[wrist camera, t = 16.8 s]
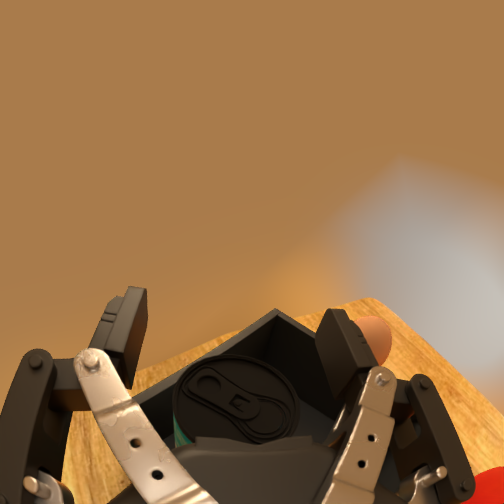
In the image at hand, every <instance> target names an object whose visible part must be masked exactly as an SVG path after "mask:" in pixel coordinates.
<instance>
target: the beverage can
mask: <svg viewBox="0 0 504 504" xmlns="http://www.w3.org/2000/svg"><path fill="white" fill-rule="evenodd" d="M172 406H173V420H174V436H175V447H179V446H182V445H186V444H191V443H195V438H196V436H197V437H210V438H227V439H231V440H235V441H239V442H244V443H248V444H253V445H260V444H264V443H268V442H271V441H275V440H278V439H282V438H285V437H292V436H293V434H294V432H295V431H296V429H297V427H298V424H299V420H300V402H299V399H298V396H297V393H296V391H295V389H294V388H293V386H292V385H291V383H290V382H289V381H288V379H287V378H286V377H285V376H284V375H283V374H282V373H280V372H279V371H278V370H276V369H275V368H274V367H272V366H270V365H268V364H267V363H265V362H263V361H260V360H258V359H255V358H252V357H248V356H243V355H234V354H224V355H215V356H211V357H207V358H204V359H202V360H200V361H197V362H196V363H194V364H192V365H191V366H190V367H188V368H187V369H186V370H185V371H184V372H183V373H182V374H181V376H180V377H179V379H178V380H177V382H176V384H175V387H174V390H173V396H172Z"/></svg>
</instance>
